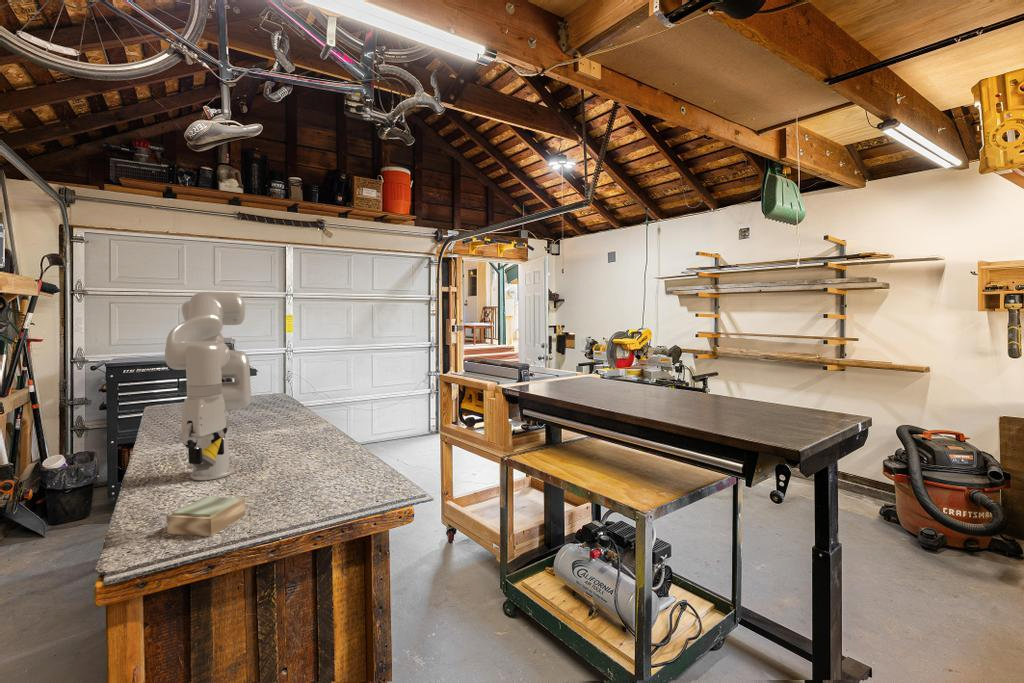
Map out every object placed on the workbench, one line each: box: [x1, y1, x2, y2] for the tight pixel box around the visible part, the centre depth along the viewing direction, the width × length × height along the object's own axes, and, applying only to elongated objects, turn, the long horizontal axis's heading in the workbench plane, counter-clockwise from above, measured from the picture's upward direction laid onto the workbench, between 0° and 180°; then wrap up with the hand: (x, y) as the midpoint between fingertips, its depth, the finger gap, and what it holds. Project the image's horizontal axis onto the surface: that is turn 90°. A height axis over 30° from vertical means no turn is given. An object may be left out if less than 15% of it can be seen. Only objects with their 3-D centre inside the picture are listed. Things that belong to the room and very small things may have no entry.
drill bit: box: [193, 437, 222, 471], centre depth 117 cm, size 5×5×10 cm
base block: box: [166, 496, 246, 537], centre depth 118 cm, size 12×12×5 cm
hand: (207, 458), depth 117 cm, fingers closed on drill bit, 6 cm apart
